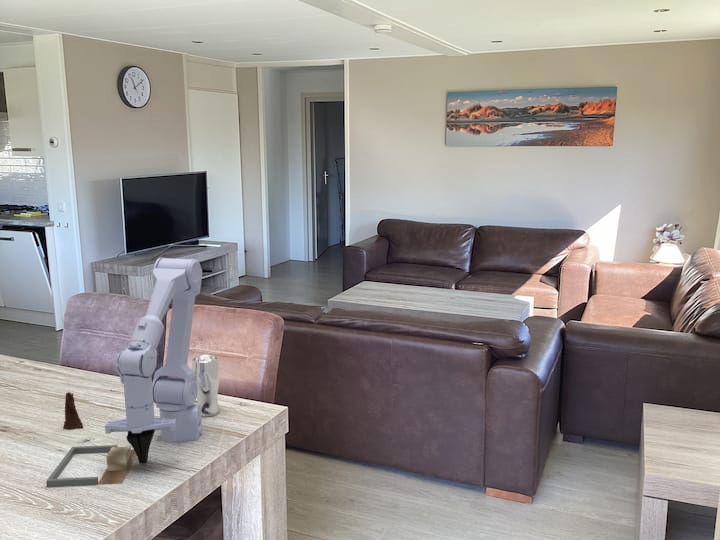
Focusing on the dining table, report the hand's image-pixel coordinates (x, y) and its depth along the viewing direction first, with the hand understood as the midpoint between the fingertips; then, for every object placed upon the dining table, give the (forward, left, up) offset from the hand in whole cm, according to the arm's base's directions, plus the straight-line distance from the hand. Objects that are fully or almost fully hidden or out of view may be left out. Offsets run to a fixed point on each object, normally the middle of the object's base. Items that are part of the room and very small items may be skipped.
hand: (143, 461), depth 138 cm
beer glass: (-9, -30, -2) cm, 32 cm away
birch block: (+5, 0, -1) cm, 5 cm away
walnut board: (+5, 0, -2) cm, 6 cm away
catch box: (+13, 0, -2) cm, 13 cm away
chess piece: (+23, -22, -2) cm, 32 cm away
